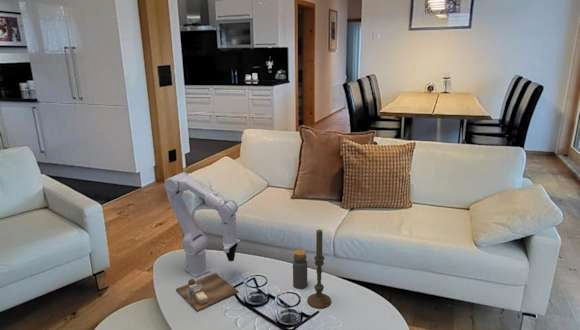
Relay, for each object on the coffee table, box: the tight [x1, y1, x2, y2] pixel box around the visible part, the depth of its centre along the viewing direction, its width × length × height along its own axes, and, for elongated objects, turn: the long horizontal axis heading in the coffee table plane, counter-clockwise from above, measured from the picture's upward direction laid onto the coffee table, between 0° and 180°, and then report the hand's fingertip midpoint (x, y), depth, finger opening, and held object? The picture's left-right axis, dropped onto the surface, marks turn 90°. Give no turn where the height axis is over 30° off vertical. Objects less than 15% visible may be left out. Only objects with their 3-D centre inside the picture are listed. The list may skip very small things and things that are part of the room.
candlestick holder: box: [306, 229, 332, 310], centre depth 144 cm, size 9×9×30 cm
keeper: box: [186, 284, 204, 300], centre depth 150 cm, size 3×6×4 cm, turn 125°
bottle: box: [292, 248, 308, 290], centre depth 157 cm, size 6×6×15 cm
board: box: [175, 272, 239, 313], centre depth 155 cm, size 18×18×1 cm
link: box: [187, 278, 208, 305], centre depth 151 cm, size 14×3×3 cm, turn 34°
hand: (231, 260), depth 162 cm, fingers closed
